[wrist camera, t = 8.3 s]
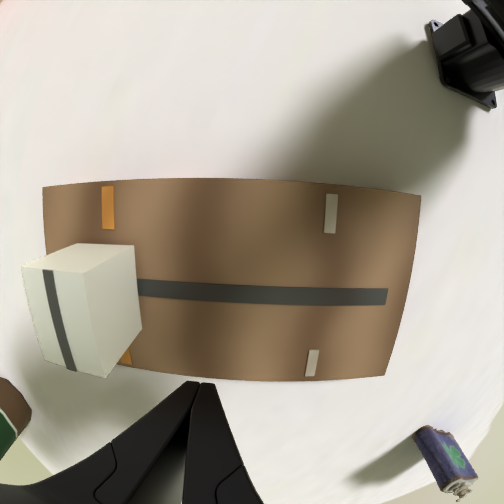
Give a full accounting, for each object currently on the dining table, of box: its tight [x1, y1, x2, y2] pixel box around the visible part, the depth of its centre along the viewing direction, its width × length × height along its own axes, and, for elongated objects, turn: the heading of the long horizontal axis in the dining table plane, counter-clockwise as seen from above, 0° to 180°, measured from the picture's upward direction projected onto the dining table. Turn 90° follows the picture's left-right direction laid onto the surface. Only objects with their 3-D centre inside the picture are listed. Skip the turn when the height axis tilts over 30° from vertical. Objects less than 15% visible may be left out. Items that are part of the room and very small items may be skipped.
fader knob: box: [21, 243, 142, 378], centre depth 12 cm, size 4×5×5 cm
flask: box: [413, 425, 478, 502], centre depth 17 cm, size 9×3×11 cm, turn 55°
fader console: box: [43, 178, 421, 381], centre depth 16 cm, size 23×12×3 cm, turn 88°
